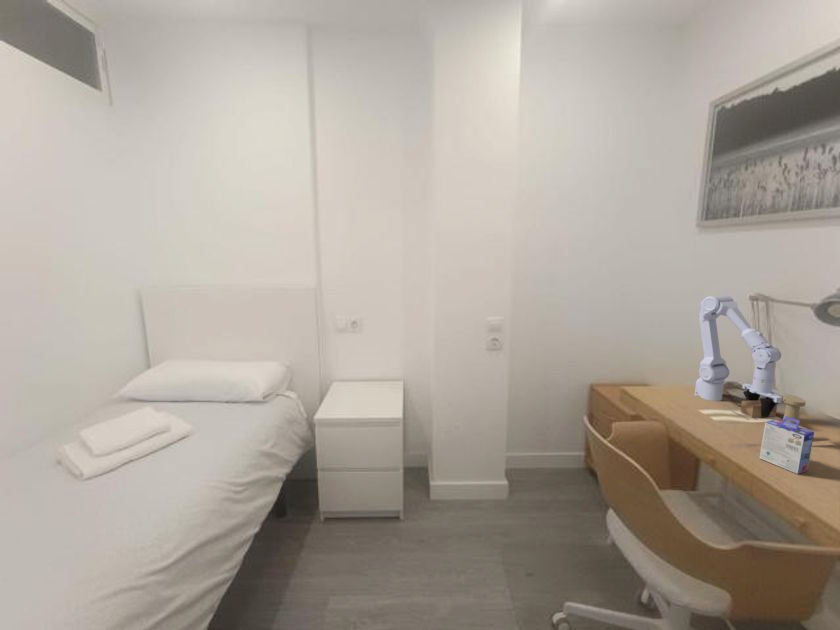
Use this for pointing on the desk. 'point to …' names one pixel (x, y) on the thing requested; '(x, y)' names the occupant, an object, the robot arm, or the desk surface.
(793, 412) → the handle
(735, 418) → the sanding board
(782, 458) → the ink cartridge box
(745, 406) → the sanding block
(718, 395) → the robot arm
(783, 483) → the desk surface
